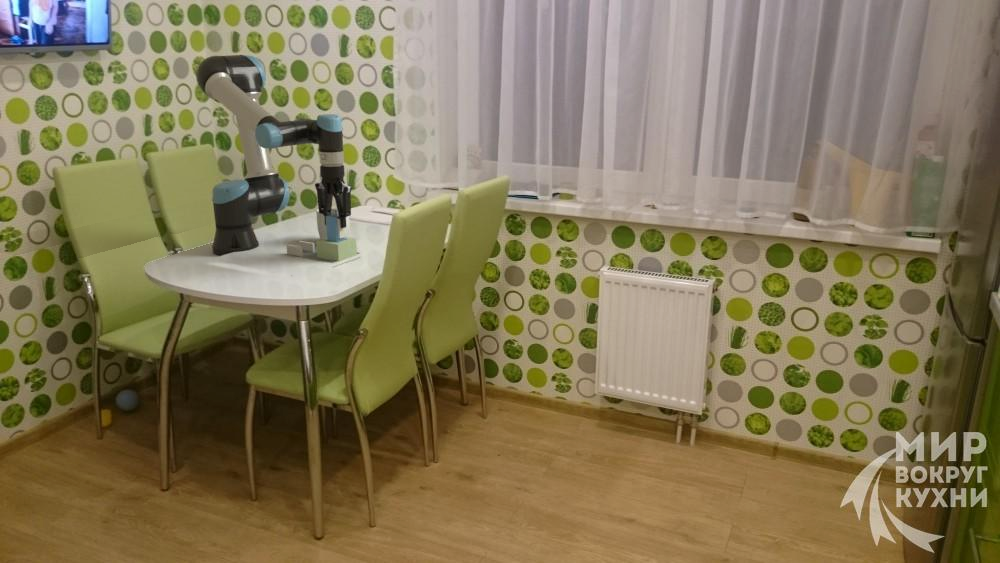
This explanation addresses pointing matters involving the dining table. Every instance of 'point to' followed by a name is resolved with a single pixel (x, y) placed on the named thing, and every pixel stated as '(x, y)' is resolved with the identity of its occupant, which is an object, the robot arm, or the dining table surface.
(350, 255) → the port
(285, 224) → the dining table surface
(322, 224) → the mug
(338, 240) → the plug
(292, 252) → the panel
